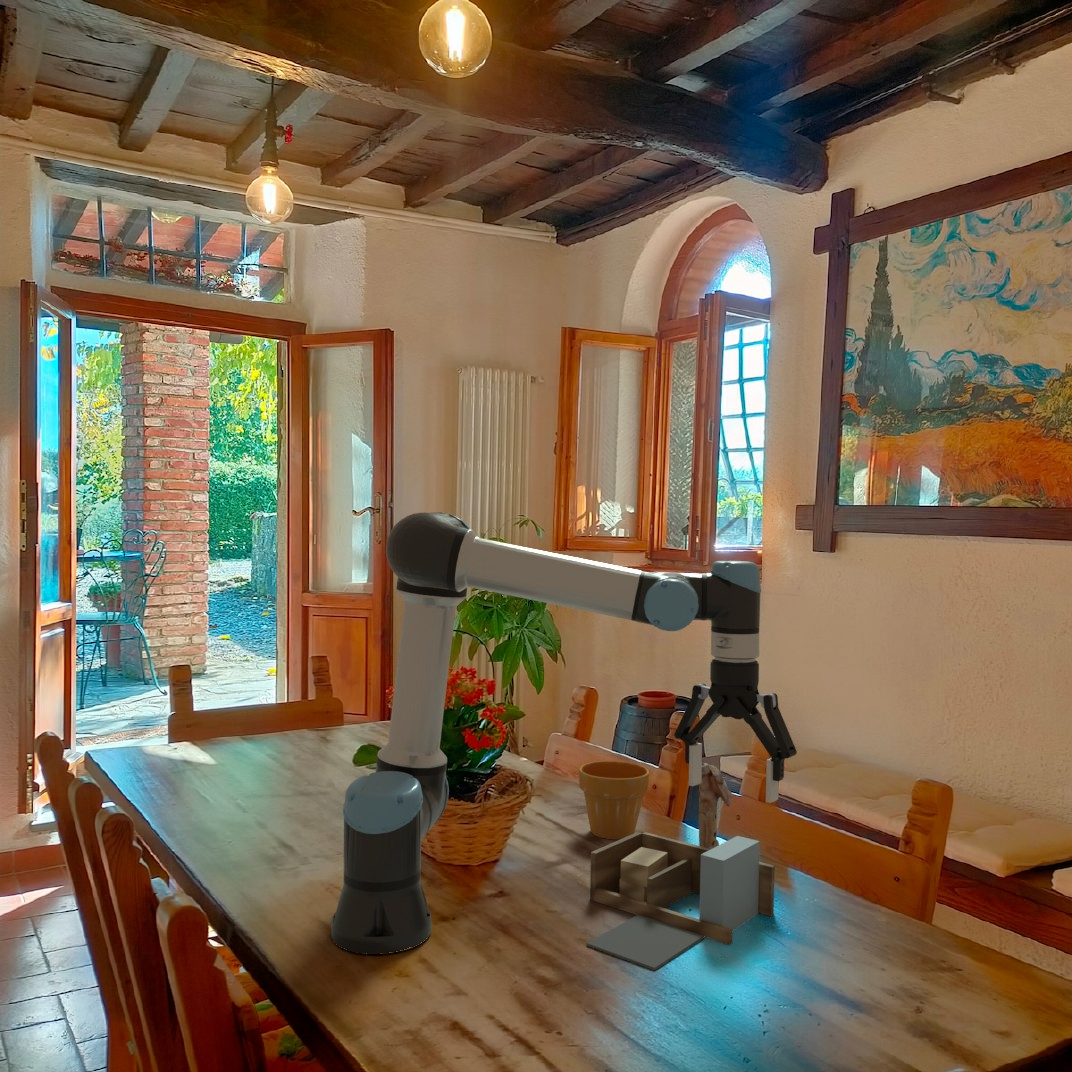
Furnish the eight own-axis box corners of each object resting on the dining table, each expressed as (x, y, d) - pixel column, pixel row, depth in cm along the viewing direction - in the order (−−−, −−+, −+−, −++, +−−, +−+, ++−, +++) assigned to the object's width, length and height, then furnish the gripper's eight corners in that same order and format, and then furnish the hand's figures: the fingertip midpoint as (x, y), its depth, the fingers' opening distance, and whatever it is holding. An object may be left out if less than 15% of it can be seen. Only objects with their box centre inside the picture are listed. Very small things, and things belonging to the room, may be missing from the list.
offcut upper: (620, 881, 162) (620, 860, 162) (640, 866, 169) (641, 846, 169) (647, 887, 160) (648, 866, 160) (667, 872, 167) (667, 852, 166)
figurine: (742, 884, 170) (744, 771, 170) (695, 880, 172) (697, 768, 171) (742, 863, 181) (744, 757, 180) (697, 860, 182) (699, 754, 182)
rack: (590, 899, 163) (590, 852, 162) (639, 874, 174) (640, 830, 174) (729, 945, 146) (730, 892, 146) (773, 914, 158) (774, 865, 157)
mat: (586, 945, 145) (586, 943, 145) (638, 916, 156) (638, 914, 156) (654, 970, 137) (654, 967, 137) (704, 938, 148) (704, 935, 148)
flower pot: (647, 823, 204) (648, 762, 203) (648, 846, 190) (649, 780, 189) (580, 820, 205) (581, 759, 205) (576, 842, 191) (577, 777, 191)
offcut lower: (619, 900, 163) (619, 879, 163) (646, 886, 169) (646, 866, 169) (643, 908, 160) (644, 887, 160) (670, 894, 166) (670, 874, 166)
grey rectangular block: (699, 931, 151) (700, 854, 151) (735, 907, 160) (737, 835, 160) (722, 938, 148) (723, 860, 148) (758, 914, 158) (759, 841, 157)
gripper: (654, 653, 158) (653, 782, 159) (798, 670, 142) (796, 813, 143) (679, 648, 164) (677, 773, 164) (819, 664, 148) (817, 802, 148)
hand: (732, 792), depth 153 cm, fingers open, 13 cm apart
